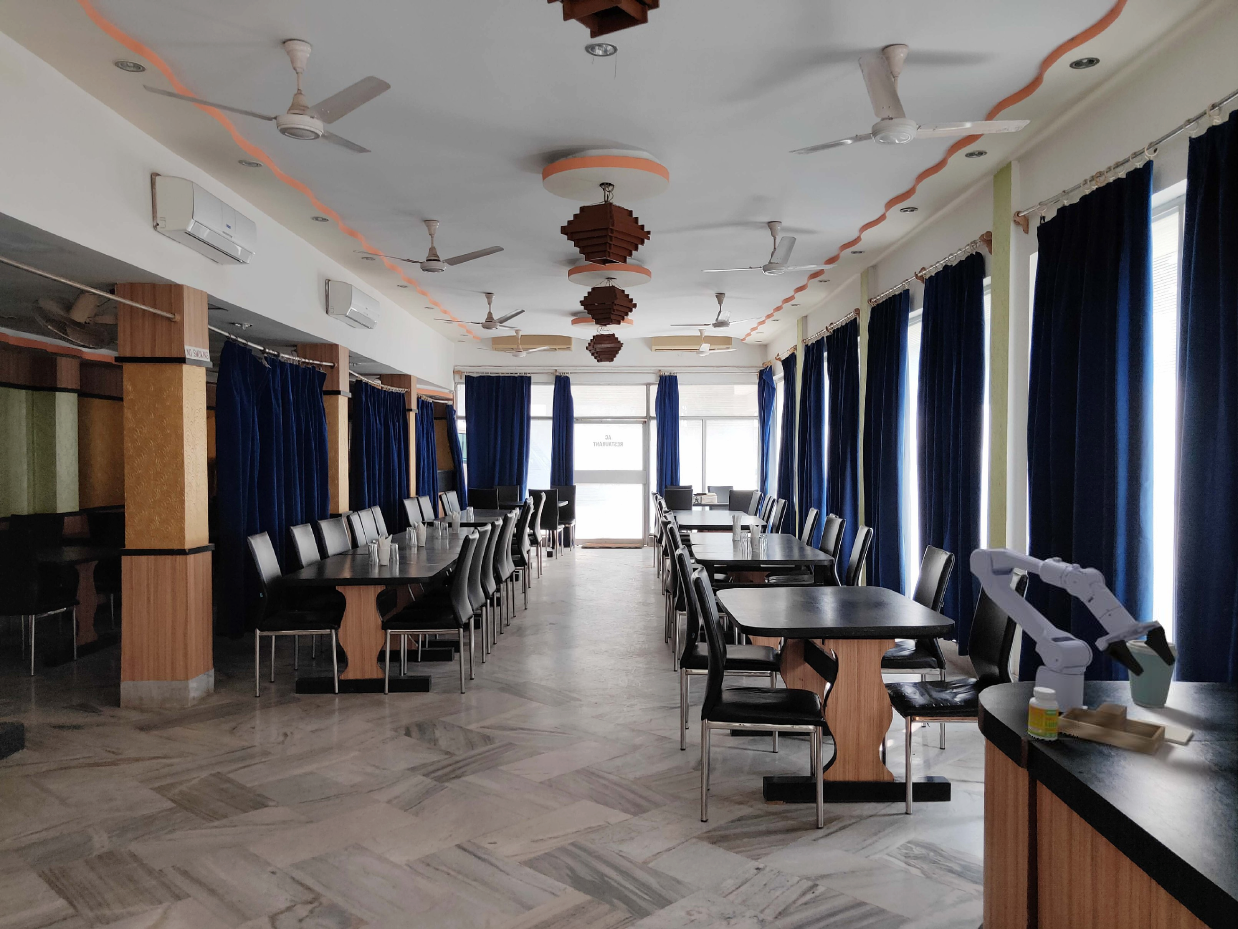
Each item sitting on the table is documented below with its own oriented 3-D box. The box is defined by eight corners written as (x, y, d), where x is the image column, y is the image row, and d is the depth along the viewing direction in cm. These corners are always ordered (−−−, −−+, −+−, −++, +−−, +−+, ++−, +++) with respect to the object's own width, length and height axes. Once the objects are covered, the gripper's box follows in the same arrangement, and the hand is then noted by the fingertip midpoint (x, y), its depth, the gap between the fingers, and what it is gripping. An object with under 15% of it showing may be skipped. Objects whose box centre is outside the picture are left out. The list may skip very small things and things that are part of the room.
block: (1094, 738, 167) (1096, 709, 167) (1104, 729, 173) (1105, 701, 173) (1117, 744, 164) (1118, 714, 164) (1125, 734, 170) (1127, 706, 170)
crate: (1057, 731, 170) (1058, 717, 170) (1071, 719, 179) (1072, 706, 179) (1153, 755, 159) (1154, 739, 159) (1164, 741, 167) (1165, 726, 167)
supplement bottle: (1046, 742, 164) (1048, 695, 164) (1022, 733, 169) (1024, 687, 168) (1063, 739, 166) (1065, 692, 166) (1038, 730, 171) (1041, 684, 171)
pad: (1127, 732, 172) (1128, 729, 172) (1137, 721, 179) (1138, 718, 179) (1184, 745, 165) (1185, 742, 165) (1192, 733, 172) (1192, 730, 172)
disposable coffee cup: (1120, 704, 191) (1123, 641, 190) (1123, 694, 200) (1126, 633, 199) (1175, 714, 185) (1178, 649, 184) (1175, 703, 193) (1178, 640, 193)
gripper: (1089, 614, 172) (1134, 669, 163) (1148, 595, 174) (1195, 649, 165) (1077, 631, 178) (1120, 685, 169) (1135, 613, 180) (1180, 666, 171)
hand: (1156, 668), depth 167 cm, fingers open, 7 cm apart
